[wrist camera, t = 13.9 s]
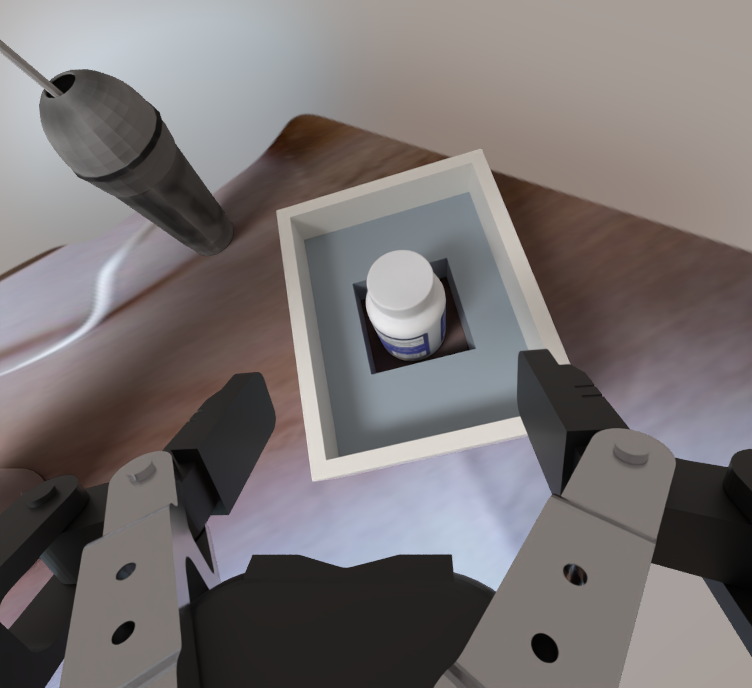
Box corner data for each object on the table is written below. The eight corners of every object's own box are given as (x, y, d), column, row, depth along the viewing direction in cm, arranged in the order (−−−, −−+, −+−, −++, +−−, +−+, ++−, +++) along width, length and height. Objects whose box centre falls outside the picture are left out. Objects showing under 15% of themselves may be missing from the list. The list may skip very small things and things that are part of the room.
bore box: (339, 478, 27) (312, 481, 21) (304, 252, 34) (276, 210, 28) (559, 429, 25) (592, 419, 20) (474, 203, 32) (481, 148, 26)
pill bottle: (408, 290, 31) (395, 224, 22) (458, 325, 29) (465, 268, 20) (366, 337, 30) (338, 286, 22) (416, 376, 28) (405, 338, 20)
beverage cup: (251, 203, 37) (52, -69, 18) (240, 266, 34) (-2, 31, 16) (188, 208, 38) (-60, -40, 19) (172, 270, 36) (-125, 57, 17)
